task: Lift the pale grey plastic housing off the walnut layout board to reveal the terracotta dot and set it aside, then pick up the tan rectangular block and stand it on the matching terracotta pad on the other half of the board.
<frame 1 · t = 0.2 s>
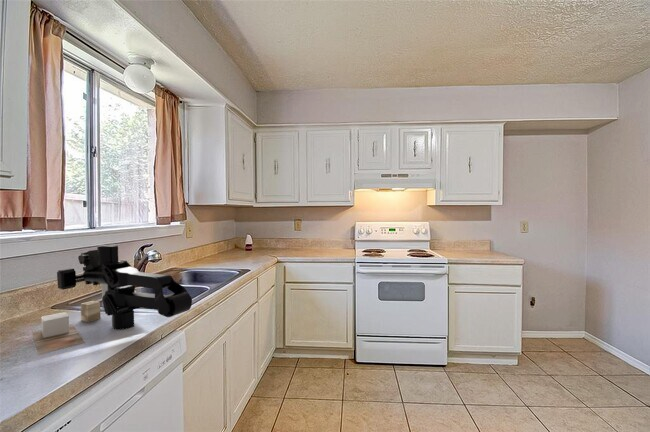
hand: (76, 273, 115), 17 cm above the worktop, tool horizontal, fingers open, 9 cm apart
layout board: (57, 341, 96), on the worktop
housing: (55, 332, 100), point 1 cm above the worktop, touching layout board
tan rectangular block: (91, 322, 111), on the worktop
skincare box: (110, 306, 130), on the worktop
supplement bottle: (125, 298, 142), on the worktop
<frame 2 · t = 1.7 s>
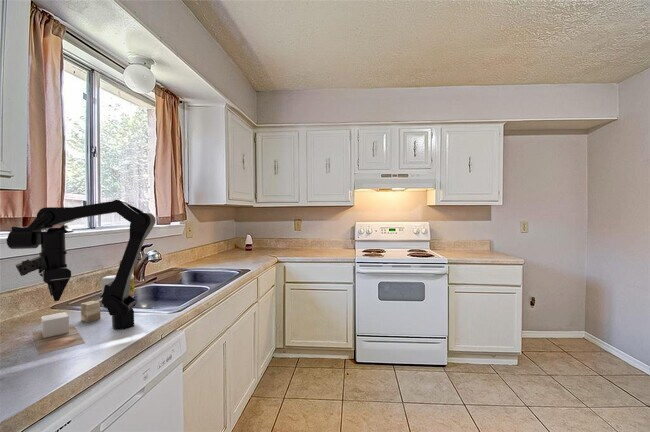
hand: (54, 298, 99), 12 cm above the worktop, tool pointing down, fingers open, 9 cm apart
nothing on the worktop moved.
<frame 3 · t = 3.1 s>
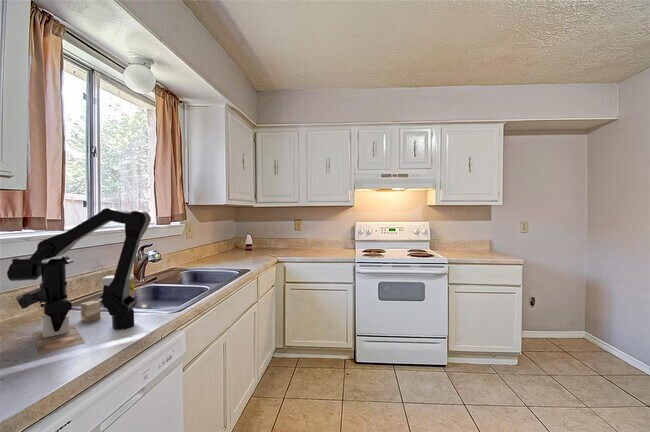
hand: (55, 328, 100), 2 cm above the worktop, tool pointing down, fingers closed on housing, 6 cm apart
housing: (55, 332, 100), point 1 cm above the worktop, touching gripper, layout board
everything else where it was.
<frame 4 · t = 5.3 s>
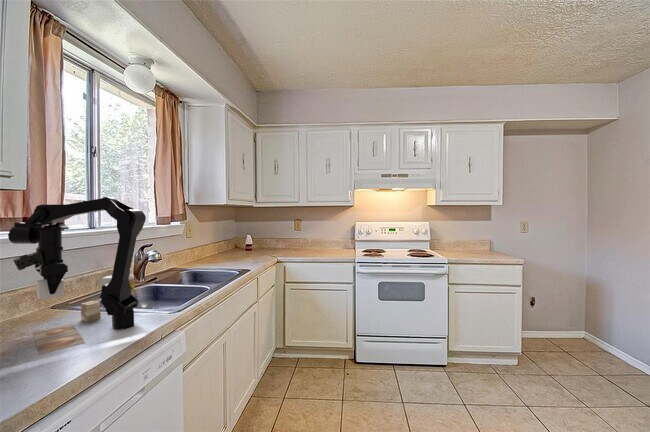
hand: (50, 292, 103), 13 cm above the worktop, tool pointing down, fingers closed on housing, 6 cm apart
housing: (50, 295, 103), point 12 cm above the worktop, touching gripper
everything else where it was.
when the fingers open (2 cm above the worktop, at t = 7.7 s): housing drops 1 cm, on the worktop.
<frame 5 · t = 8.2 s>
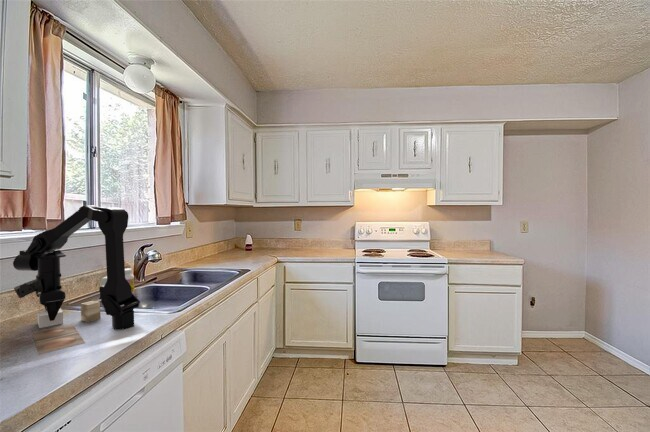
hand: (50, 317, 108), 3 cm above the worktop, tool pointing down, fingers open, 9 cm apart
housing: (50, 326, 108), on the worktop
everything else where it was.
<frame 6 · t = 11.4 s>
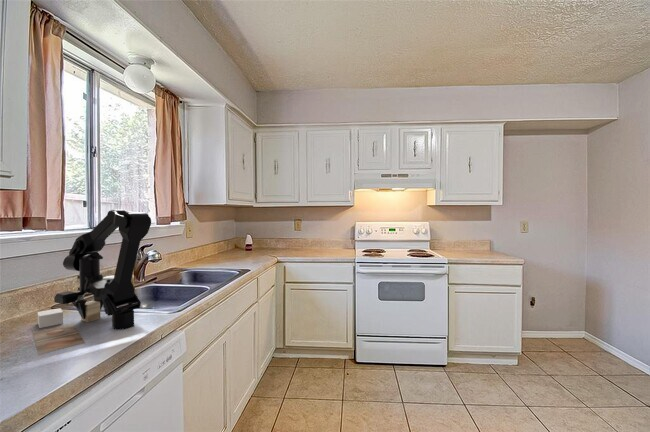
hand: (90, 316, 111), 2 cm above the worktop, tool pointing down, fingers closed on tan rectangular block, 4 cm apart
tan rectangular block: (91, 322, 111), on the worktop, touching gripper
everything else where it was.
when the fingers open (4 cm above the worktop, at t = 16.9 s): tan rectangular block drops 1 cm, resting on layout board.
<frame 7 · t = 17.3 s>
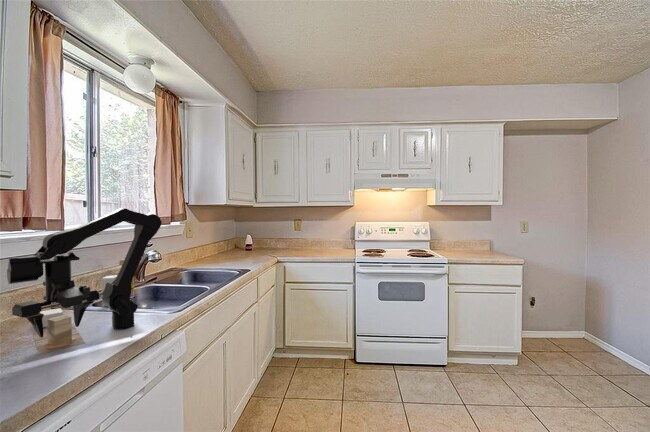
hand: (60, 331, 92), 4 cm above the worktop, tool pointing down, fingers open, 8 cm apart
tan rectangular block: (60, 342, 92), point 1 cm above the worktop, touching layout board
everything else where it was.
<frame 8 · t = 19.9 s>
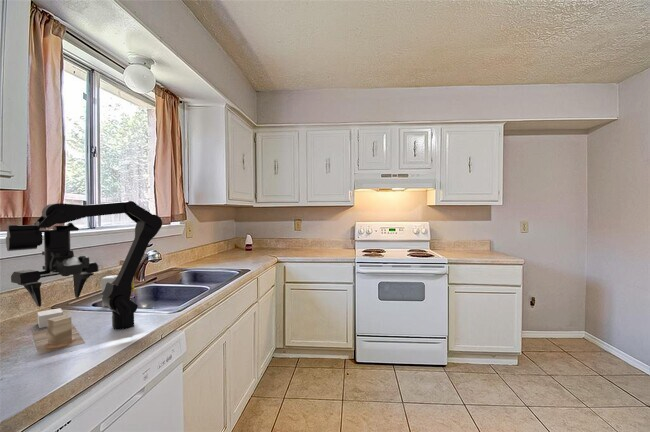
hand: (59, 301, 92), 13 cm above the worktop, tool pointing down, fingers open, 9 cm apart
nothing on the worktop moved.
at the end: tan rectangular block 0.1 cm from the target spot, point 1.2 cm above the worktop; tan rectangular block tilted 0°; housing moved 11.6 cm from its start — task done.
